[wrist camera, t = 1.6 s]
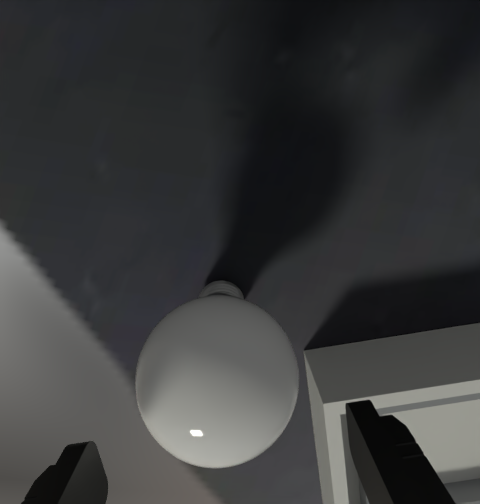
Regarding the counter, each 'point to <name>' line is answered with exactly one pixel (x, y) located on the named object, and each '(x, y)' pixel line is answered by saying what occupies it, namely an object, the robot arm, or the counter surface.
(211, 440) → the lightbulb
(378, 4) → the counter surface
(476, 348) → the walled box
